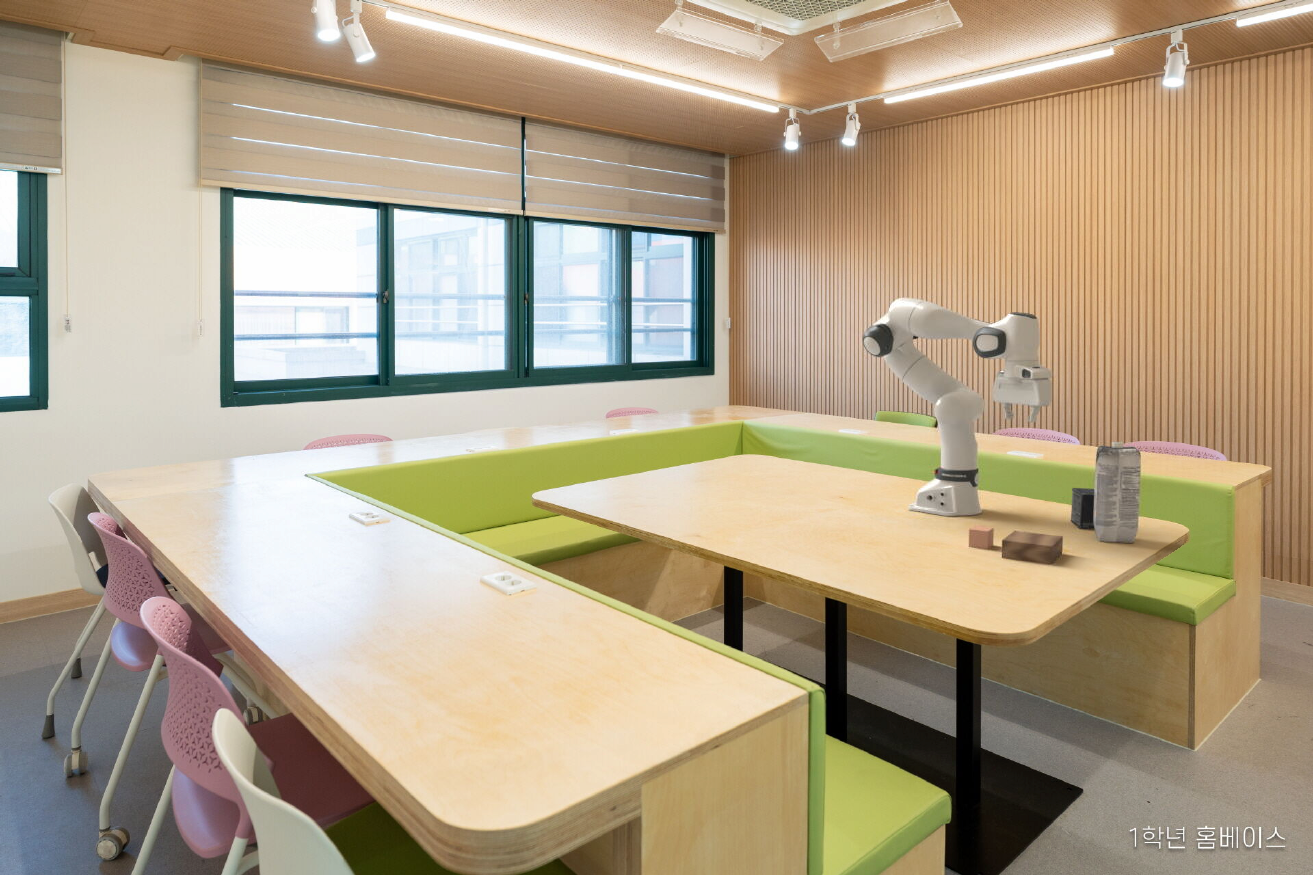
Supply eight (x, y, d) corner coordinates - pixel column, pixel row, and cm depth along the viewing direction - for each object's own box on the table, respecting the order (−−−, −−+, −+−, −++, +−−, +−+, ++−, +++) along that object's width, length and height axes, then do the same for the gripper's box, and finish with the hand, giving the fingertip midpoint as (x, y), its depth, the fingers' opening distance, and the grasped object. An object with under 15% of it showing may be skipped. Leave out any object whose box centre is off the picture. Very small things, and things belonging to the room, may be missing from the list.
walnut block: (1001, 559, 223) (1002, 540, 222) (1014, 548, 232) (1014, 530, 231) (1051, 565, 215) (1052, 546, 215) (1062, 555, 225) (1062, 536, 224)
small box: (1103, 530, 249) (1105, 494, 248) (1079, 529, 250) (1080, 494, 249) (1093, 521, 259) (1094, 487, 258) (1069, 521, 260) (1071, 487, 259)
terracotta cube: (968, 547, 234) (969, 529, 234) (974, 543, 238) (975, 525, 237) (987, 549, 231) (987, 531, 231) (993, 545, 235) (993, 527, 234)
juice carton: (1138, 544, 232) (1143, 445, 228) (1095, 542, 235) (1099, 444, 232) (1133, 537, 240) (1138, 441, 236) (1091, 534, 244) (1095, 440, 240)
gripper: (987, 370, 248) (986, 417, 250) (1037, 372, 229) (1035, 424, 231) (1006, 369, 250) (1005, 416, 252) (1057, 371, 231) (1055, 423, 232)
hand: (1020, 420), depth 241 cm, fingers open, 8 cm apart
